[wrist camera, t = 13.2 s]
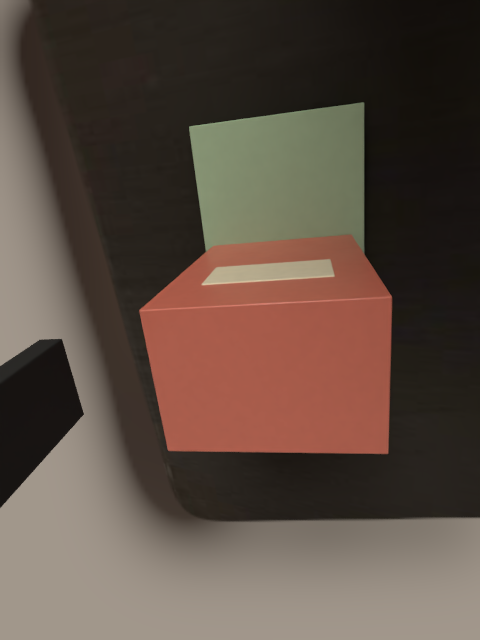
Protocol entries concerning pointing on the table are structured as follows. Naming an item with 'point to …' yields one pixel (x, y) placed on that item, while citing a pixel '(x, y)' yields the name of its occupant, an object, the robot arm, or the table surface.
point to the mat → (281, 176)
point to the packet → (274, 350)
